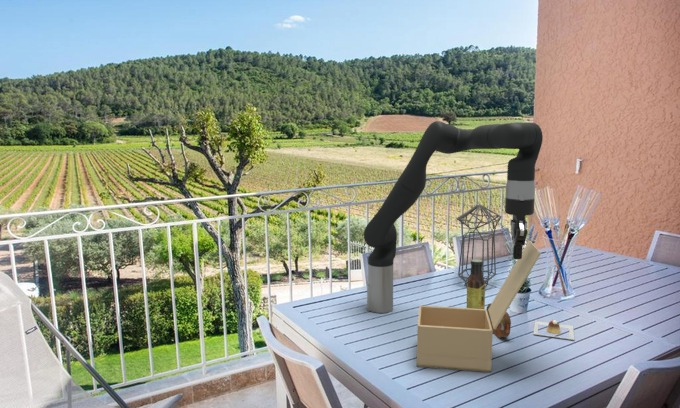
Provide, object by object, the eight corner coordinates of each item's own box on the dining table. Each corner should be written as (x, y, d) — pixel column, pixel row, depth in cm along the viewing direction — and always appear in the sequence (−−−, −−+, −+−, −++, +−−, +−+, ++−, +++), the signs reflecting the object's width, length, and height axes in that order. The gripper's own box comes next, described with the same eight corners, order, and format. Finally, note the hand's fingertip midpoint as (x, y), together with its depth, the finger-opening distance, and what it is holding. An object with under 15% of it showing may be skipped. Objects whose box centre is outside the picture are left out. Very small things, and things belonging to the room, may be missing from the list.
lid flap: (539, 252, 132) (541, 253, 132) (529, 240, 146) (530, 241, 146) (493, 328, 137) (495, 329, 137) (488, 309, 151) (489, 310, 151)
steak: (484, 323, 173) (485, 300, 171) (493, 323, 173) (494, 299, 172) (502, 342, 158) (503, 316, 157) (511, 341, 158) (513, 315, 157)
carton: (416, 367, 141) (417, 326, 139) (418, 342, 158) (419, 305, 156) (491, 373, 138) (492, 331, 136) (485, 347, 154) (486, 309, 152)
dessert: (534, 324, 174) (535, 310, 173) (573, 329, 169) (574, 315, 168) (533, 337, 163) (533, 322, 162) (574, 343, 158) (575, 328, 157)
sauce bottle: (484, 318, 177) (487, 263, 174) (466, 317, 178) (468, 262, 176) (483, 312, 184) (485, 258, 181) (465, 311, 185) (467, 258, 182)
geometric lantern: (499, 283, 218) (503, 203, 212) (489, 294, 205) (492, 209, 199) (464, 277, 226) (466, 200, 220) (451, 287, 213) (454, 205, 207)
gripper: (502, 193, 145) (500, 252, 147) (509, 199, 132) (506, 264, 134) (529, 193, 144) (527, 253, 146) (539, 200, 131) (536, 265, 133)
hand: (517, 258), depth 140 cm, fingers closed
